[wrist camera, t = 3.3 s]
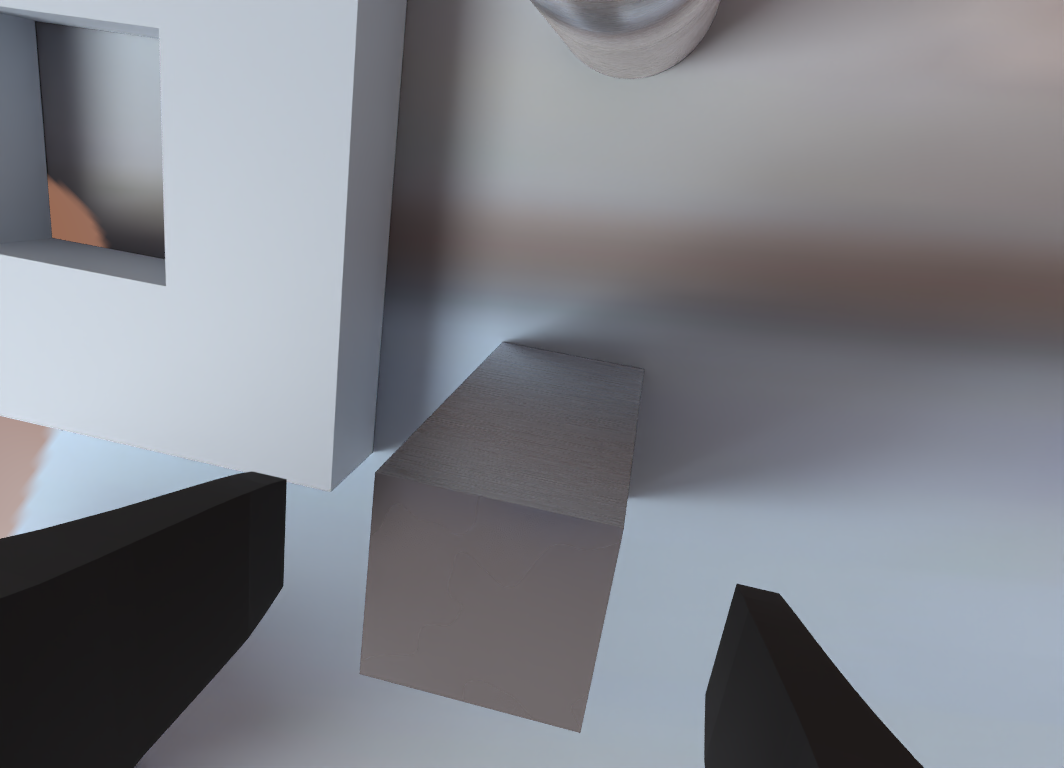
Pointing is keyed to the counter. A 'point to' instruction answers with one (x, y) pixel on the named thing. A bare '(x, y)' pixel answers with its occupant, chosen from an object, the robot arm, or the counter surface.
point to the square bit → (504, 536)
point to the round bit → (629, 32)
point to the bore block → (215, 239)
